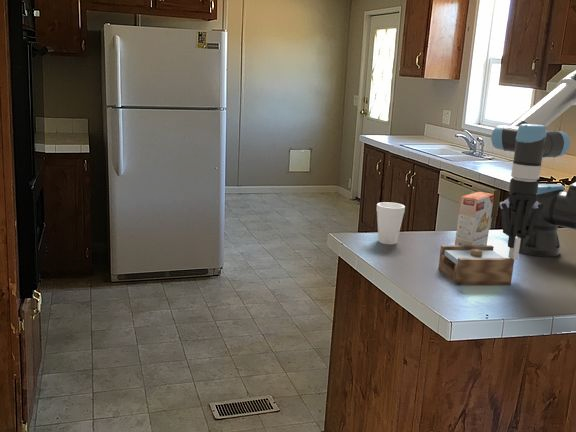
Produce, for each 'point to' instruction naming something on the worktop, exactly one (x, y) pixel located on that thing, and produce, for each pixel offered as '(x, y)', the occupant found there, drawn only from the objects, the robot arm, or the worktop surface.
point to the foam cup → (389, 221)
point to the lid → (470, 254)
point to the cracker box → (474, 219)
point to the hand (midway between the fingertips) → (513, 258)
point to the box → (476, 267)
